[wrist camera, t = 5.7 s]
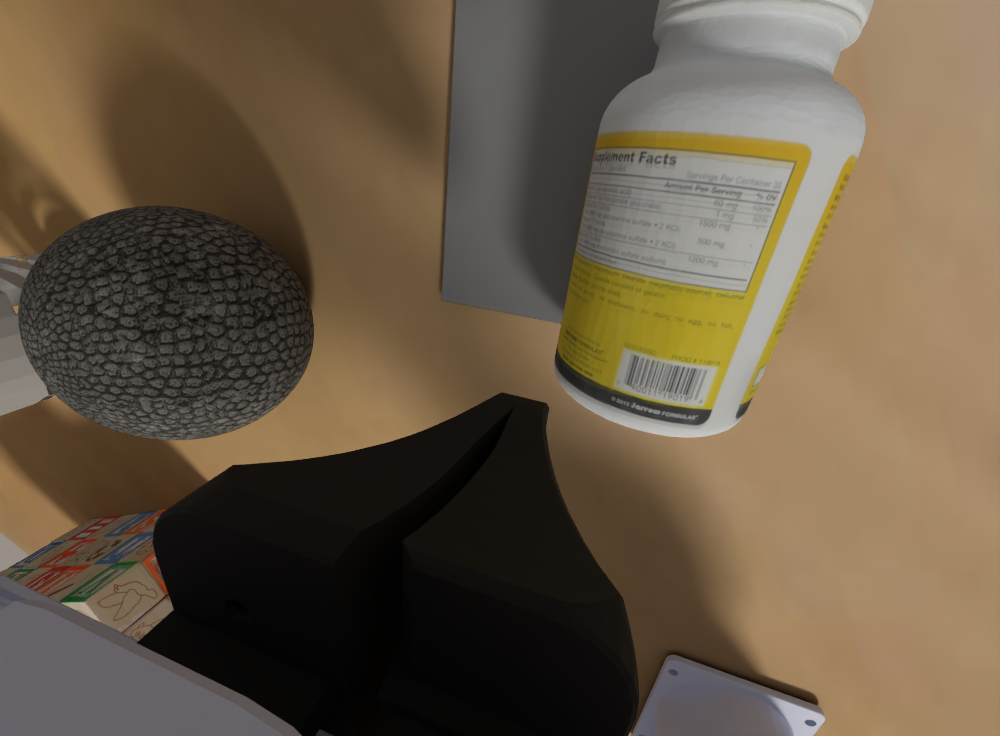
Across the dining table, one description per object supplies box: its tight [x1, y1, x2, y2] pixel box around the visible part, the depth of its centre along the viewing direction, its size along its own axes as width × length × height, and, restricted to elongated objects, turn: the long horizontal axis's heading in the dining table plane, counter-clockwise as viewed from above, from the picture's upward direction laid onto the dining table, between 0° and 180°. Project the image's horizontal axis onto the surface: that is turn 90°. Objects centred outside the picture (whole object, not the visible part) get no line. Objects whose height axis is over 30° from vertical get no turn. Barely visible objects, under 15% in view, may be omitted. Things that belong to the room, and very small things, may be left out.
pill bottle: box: [555, 0, 874, 437], centre depth 12 cm, size 6×6×12 cm
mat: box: [442, 0, 659, 323], centre depth 15 cm, size 14×12×1 cm
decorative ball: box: [18, 206, 314, 440], centre depth 18 cm, size 10×10×10 cm
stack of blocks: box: [0, 508, 174, 641], centre depth 31 cm, size 21×6×12 cm, turn 112°
